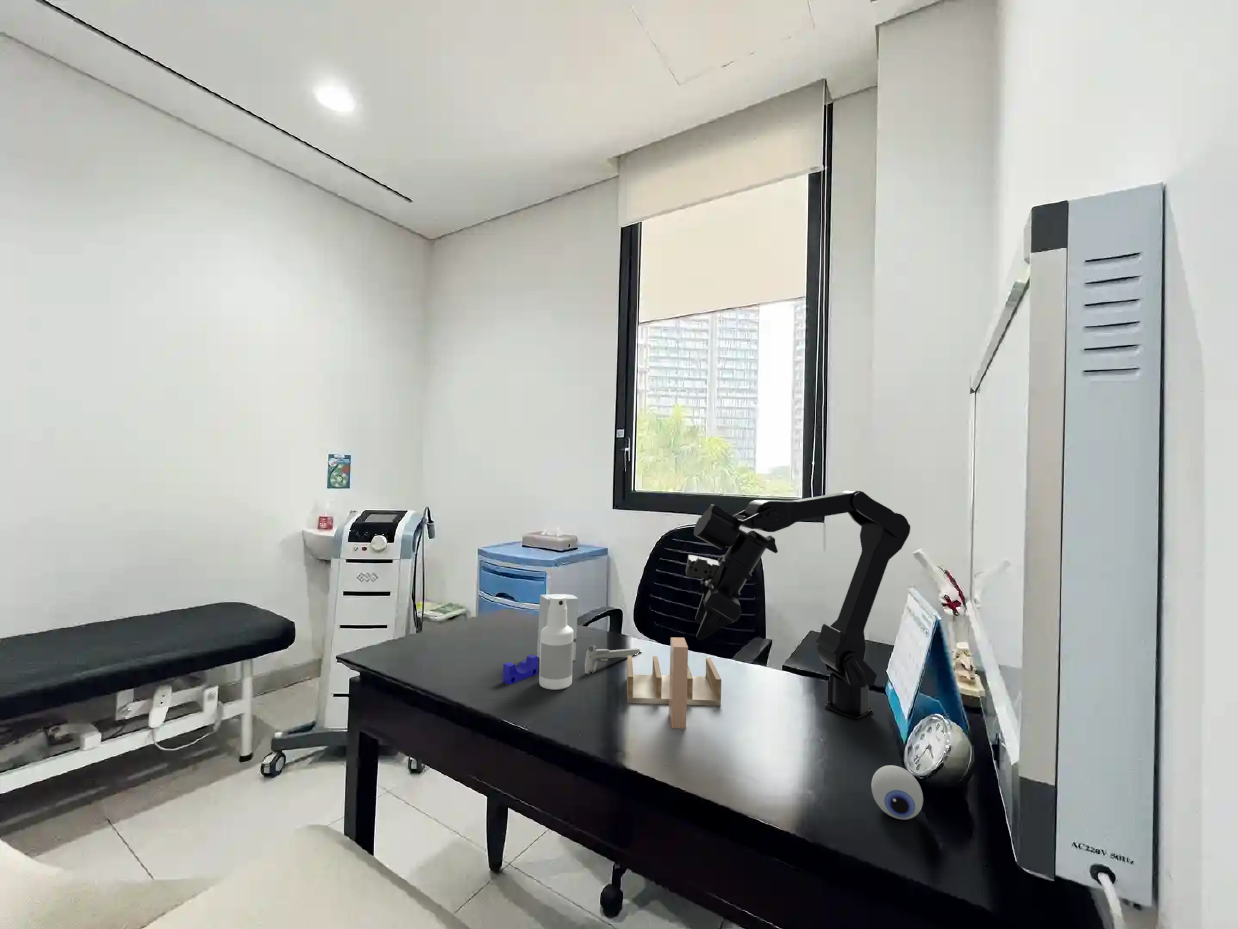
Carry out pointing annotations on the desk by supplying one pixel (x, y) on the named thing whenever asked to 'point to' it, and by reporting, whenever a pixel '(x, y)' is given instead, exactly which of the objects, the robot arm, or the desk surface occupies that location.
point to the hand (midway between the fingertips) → (697, 629)
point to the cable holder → (520, 670)
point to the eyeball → (897, 792)
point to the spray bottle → (556, 647)
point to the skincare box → (571, 616)
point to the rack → (657, 685)
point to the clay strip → (678, 682)
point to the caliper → (604, 656)
